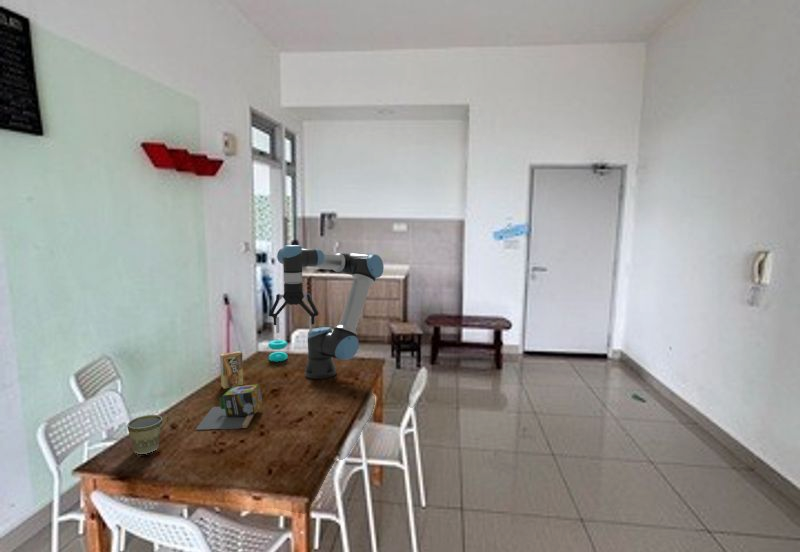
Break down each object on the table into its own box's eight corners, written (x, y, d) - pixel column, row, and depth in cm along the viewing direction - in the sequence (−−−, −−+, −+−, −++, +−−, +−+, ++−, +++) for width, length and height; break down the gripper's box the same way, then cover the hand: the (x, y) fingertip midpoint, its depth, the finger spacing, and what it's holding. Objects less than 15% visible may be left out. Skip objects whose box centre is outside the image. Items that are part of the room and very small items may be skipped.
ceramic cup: (139, 461, 142) (137, 430, 140) (123, 452, 147) (120, 423, 146) (178, 444, 153) (177, 415, 151) (161, 436, 158) (160, 409, 157)
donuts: (283, 344, 240) (265, 344, 241) (283, 362, 242) (265, 362, 243) (289, 339, 250) (272, 339, 251) (290, 357, 251) (272, 356, 252)
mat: (258, 406, 184) (258, 402, 184) (246, 428, 164) (246, 424, 164) (212, 407, 182) (212, 404, 182) (195, 430, 163) (195, 426, 162)
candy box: (240, 382, 212) (239, 350, 210) (243, 384, 208) (242, 352, 206) (221, 386, 206) (219, 354, 204) (224, 389, 203) (222, 356, 201)
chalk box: (260, 383, 179) (224, 386, 181) (251, 392, 170) (213, 395, 172) (263, 405, 181) (228, 408, 182) (254, 415, 171) (217, 418, 173)
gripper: (324, 281, 192) (324, 329, 195) (264, 281, 190) (265, 330, 192) (322, 283, 185) (323, 333, 187) (260, 283, 182) (262, 335, 185)
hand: (294, 332), depth 190 cm, fingers open, 13 cm apart
